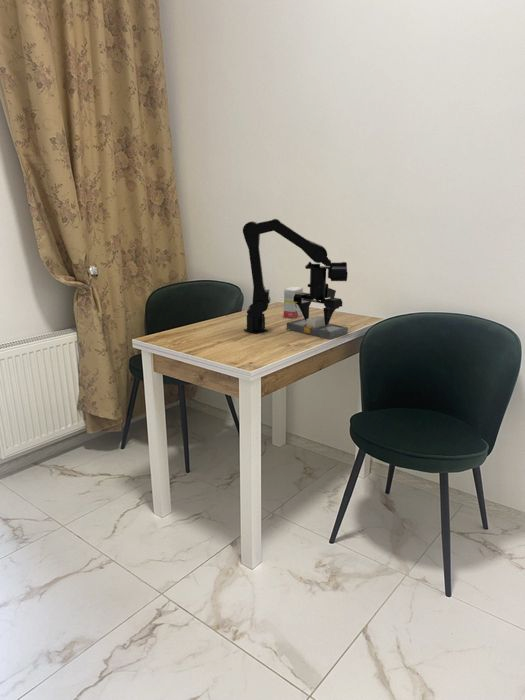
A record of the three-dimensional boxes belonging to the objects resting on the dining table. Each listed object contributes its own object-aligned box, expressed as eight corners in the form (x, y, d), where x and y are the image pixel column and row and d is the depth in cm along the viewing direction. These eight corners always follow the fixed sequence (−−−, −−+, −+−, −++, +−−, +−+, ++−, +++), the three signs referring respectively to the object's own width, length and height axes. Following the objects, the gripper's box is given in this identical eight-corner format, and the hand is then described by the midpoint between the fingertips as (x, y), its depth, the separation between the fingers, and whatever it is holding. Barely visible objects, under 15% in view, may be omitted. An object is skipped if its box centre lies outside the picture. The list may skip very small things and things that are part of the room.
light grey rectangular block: (314, 332, 180) (315, 320, 179) (306, 330, 183) (306, 319, 181) (326, 329, 185) (326, 317, 184) (318, 327, 188) (318, 315, 186)
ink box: (293, 318, 204) (293, 290, 200) (283, 317, 206) (283, 289, 203) (303, 314, 211) (303, 287, 207) (292, 313, 213) (293, 286, 210)
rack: (329, 339, 173) (329, 332, 172) (286, 329, 187) (286, 322, 186) (347, 333, 181) (347, 326, 180) (304, 324, 194) (304, 317, 194)
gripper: (352, 281, 178) (350, 323, 182) (312, 275, 190) (310, 315, 195) (333, 285, 170) (331, 329, 175) (292, 279, 183) (292, 320, 187)
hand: (316, 323), depth 183 cm, fingers open, 9 cm apart
